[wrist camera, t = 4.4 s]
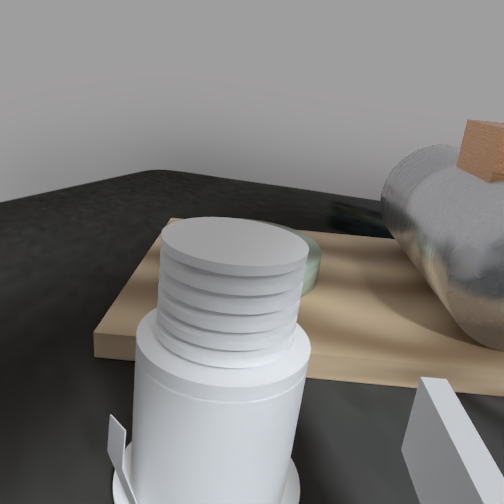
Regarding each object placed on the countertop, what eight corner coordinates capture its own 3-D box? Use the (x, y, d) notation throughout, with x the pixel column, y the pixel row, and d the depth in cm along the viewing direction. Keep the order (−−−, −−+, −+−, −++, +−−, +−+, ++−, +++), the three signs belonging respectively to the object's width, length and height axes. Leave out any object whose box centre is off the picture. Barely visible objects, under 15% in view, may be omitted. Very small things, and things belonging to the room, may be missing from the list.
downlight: (175, 636, 13) (207, 314, 10) (65, 476, 17) (61, 220, 14) (342, 491, 18) (399, 254, 15) (225, 398, 23) (249, 200, 20)
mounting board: (170, 233, 43) (171, 196, 42) (461, 261, 43) (471, 225, 42) (94, 357, 24) (91, 297, 23) (606, 406, 24) (632, 349, 23)
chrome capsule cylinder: (368, 238, 42) (393, 105, 38) (467, 247, 42) (503, 116, 38) (429, 344, 26) (486, 132, 22) (592, 360, 26) (680, 150, 22)
